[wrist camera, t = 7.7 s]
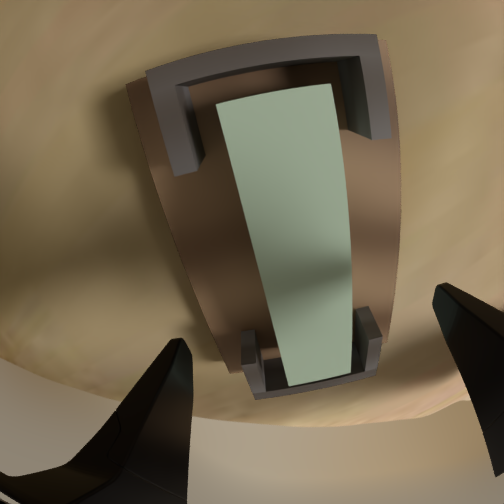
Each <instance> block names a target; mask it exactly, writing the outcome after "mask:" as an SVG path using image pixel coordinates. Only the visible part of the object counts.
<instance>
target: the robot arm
mask: <svg viewBox="0 0 504 504" xmlns="http://www.w3.org/2000/svg"><path fill="white" fill-rule="evenodd" d="M432 305H433V309H434V312H435V314H436V317H437V319H438V322H439V325H440V327H441V330H442V333H443V335H444V338H445V341H446V343H447V345H448V347H449V350H450V352H451V354H452V356H453V358H454V360H455V363H456V365H457V367H458V369H459V372H460V374H461V376H462V379H463V381H464V383H465V386H466V388H467V391H468V393H469V396H470V398H471V401H472V403H473V406H474V409H475V412H476V414H477V417H478V420H479V423H480V426H481V429H482V431H483V435H484V438H485V442H486V445H487V448H488V452H489V455H490V459H491V462H492V466H493V470H494V474H495V477H497V476H499V475H501V474H502V473H504V313H503V312H501V311H499V310H498V309H496V308H494V307H492V306H490V305H489V304H487V303H485V302H483V301H481V300H479V299H477V298H476V297H474V296H472V295H470V294H468V293H466V292H464V291H462V290H460V289H459V288H457V287H455V286H453V285H451V284H449V283H442V284H439V285H437V286H436V288H435V293H434V297H433V302H432ZM192 409H193V362H192V354H191V352H190V350H189V348H188V346H187V344H186V342H185V341H184V339H183V338H175V339H171V340H170V341H169V342H168V343H167V345H166V346H165V347H164V349H163V350H162V351H161V352H160V354H159V355H158V356H157V357H156V359H155V360H154V361H153V363H152V364H151V365H150V366H149V368H148V369H147V370H146V372H145V373H144V374H143V375H142V377H141V378H140V379H139V381H138V382H137V383H136V384H135V386H134V387H133V388H132V390H131V391H130V392H129V393H128V395H127V396H126V397H125V399H124V400H123V401H122V402H121V404H120V405H119V406H118V408H117V409H116V411H114V413H113V414H112V415H111V416H110V418H109V419H108V420H107V421H106V423H105V424H104V425H103V426H102V428H101V429H100V430H99V431H98V432H97V433H96V434H95V435H94V437H93V438H92V439H91V440H90V441H89V442H88V443H87V444H86V445H85V446H84V447H83V448H82V449H81V450H80V451H79V452H78V453H77V454H76V456H75V457H73V458H72V459H71V460H70V461H69V462H68V463H66V464H64V465H62V466H59V467H56V468H52V469H48V470H44V471H40V472H36V473H32V474H27V475H23V476H16V477H15V476H13V477H12V476H7V475H5V474H4V473H2V472H0V492H2V493H4V494H5V495H7V496H8V497H10V498H11V499H13V500H15V501H16V502H18V503H20V504H187V487H188V467H189V450H190V434H191V422H192V421H191V420H192ZM0 504H9V503H8V502H6V501H4V500H2V499H0Z"/></svg>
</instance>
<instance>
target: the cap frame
mask: <svg viewBox="0 0 504 504" xmlns="http://www.w3.org/2000/svg"><path fill="white" fill-rule="evenodd" d="M145 72H146V77H144V78H141V79H138V80H136V81H133V82H130V83H128V84H126V88H127V92H128V96H129V99H130V103H131V107H132V111H133V114H134V118H135V121H136V125H137V128H138V132H139V135H140V139H141V142H142V146H143V149H144V152H145V155H146V159H147V162H148V165H149V168H150V171H151V174H152V178H153V181H154V184H155V187H156V190H157V193H158V196H159V199H160V202H161V205H162V207H163V210H164V213H165V216H166V219H167V222H168V225H169V227H170V230H171V233H172V236H173V238H174V241H175V244H176V246H177V249H178V252H179V254H180V257H181V260H182V262H183V265H184V267H185V270H186V273H187V275H188V278H189V280H190V283H191V285H192V288H193V290H194V293H195V295H196V298H197V300H198V302H199V305H200V307H201V310H202V312H203V314H204V317H205V319H206V321H207V324H208V326H209V328H210V331H211V333H212V335H213V338H214V340H215V342H216V344H217V347H218V349H219V351H220V353H221V355H222V358H223V360H224V362H225V364H226V366H227V368H228V371H229V373H230V374H231V373H239V372H244V374H245V376H246V379H247V381H248V384H249V386H250V388H251V391H252V393H253V395H254V398H255V400H258V399H265V398H272V397H279V396H285V395H291V394H297V393H302V392H307V391H312V390H317V389H322V388H327V387H331V386H336V385H340V384H344V383H348V382H352V381H356V380H360V379H364V378H367V377H371V376H375V375H376V371H377V366H378V361H379V356H380V351H381V345H382V343H386V342H387V340H388V334H389V329H390V323H391V316H392V310H393V303H394V295H395V287H396V278H397V268H398V257H399V243H400V224H401V158H400V140H399V126H398V115H397V106H396V97H395V89H394V82H393V76H392V69H391V64H390V58H389V53H388V47H387V43H386V40H378V39H377V35H376V34H328V35H311V36H299V37H289V38H280V39H272V40H266V41H259V42H253V43H247V44H242V45H237V46H232V47H227V48H223V49H218V50H214V51H210V52H206V53H202V54H198V55H194V56H191V57H187V58H184V59H180V60H177V61H174V62H171V63H167V64H164V65H161V66H158V67H155V68H153V69H150V70H147V71H145ZM319 84H331V87H332V93H333V98H334V103H335V109H336V115H337V121H338V127H339V134H340V141H341V148H342V155H343V163H344V171H345V180H346V190H347V200H348V212H349V225H350V241H351V263H352V353H351V373H347V374H343V375H339V376H335V377H331V378H327V379H322V380H318V381H313V382H308V383H303V384H298V385H293V386H289V385H288V381H287V377H286V373H285V370H284V366H283V362H282V358H281V354H280V350H279V346H278V342H277V338H276V335H275V331H274V327H273V323H272V319H271V315H270V311H269V307H268V303H267V300H266V296H265V292H264V288H263V284H262V280H261V276H260V272H259V269H258V265H257V261H256V257H255V253H254V249H253V245H252V242H251V238H250V234H249V230H248V226H247V222H246V218H245V215H244V211H243V207H242V203H241V199H240V195H239V192H238V188H237V184H236V180H235V176H234V172H233V168H232V165H231V161H230V157H229V153H228V149H227V145H226V142H225V138H224V134H223V130H222V126H221V123H220V119H219V115H218V111H217V107H216V104H218V103H221V102H225V101H229V100H233V99H237V98H242V97H246V96H251V95H256V94H261V93H266V92H271V91H277V90H282V89H289V88H295V87H302V86H309V85H319Z"/></svg>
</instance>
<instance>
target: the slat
mask: <svg viewBox="0 0 504 504" xmlns="http://www.w3.org/2000/svg"><path fill="white" fill-rule="evenodd" d="M216 107H217V111H218V115H219V119H220V123H221V126H222V130H223V134H224V138H225V142H226V145H227V149H228V153H229V157H230V161H231V165H232V168H233V172H234V176H235V180H236V184H237V188H238V192H239V195H240V199H241V203H242V207H243V211H244V215H245V218H246V222H247V226H248V230H249V234H250V238H251V242H252V245H253V249H254V253H255V257H256V261H257V265H258V269H259V272H260V276H261V280H262V284H263V288H264V292H265V296H266V300H267V303H268V307H269V311H270V315H271V319H272V323H273V327H274V331H275V335H276V338H277V342H278V346H279V350H280V354H281V358H282V362H283V366H284V370H285V373H286V377H287V381H288V385H289V386H293V385H298V384H303V383H308V382H313V381H318V380H322V379H327V378H331V377H335V376H339V375H343V374H347V373H351V353H352V263H351V241H350V225H349V212H348V200H347V190H346V180H345V171H344V163H343V155H342V148H341V141H340V134H339V127H338V121H337V115H336V109H335V103H334V98H333V93H332V87H331V84H319V85H309V86H302V87H295V88H289V89H282V90H277V91H271V92H266V93H261V94H256V95H251V96H246V97H242V98H237V99H233V100H229V101H225V102H221V103H218V104H216Z"/></svg>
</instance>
